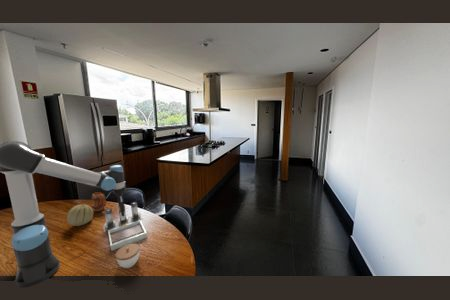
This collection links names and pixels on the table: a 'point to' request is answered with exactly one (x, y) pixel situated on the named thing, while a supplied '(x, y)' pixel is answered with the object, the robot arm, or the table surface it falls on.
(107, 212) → the fuse left
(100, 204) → the mug
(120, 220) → the marked fuse
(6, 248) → the table surface
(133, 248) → the lidded jar
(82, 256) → the table surface
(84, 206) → the cantaloupe
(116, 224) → the fuse holder
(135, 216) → the fuse right
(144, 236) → the tray
